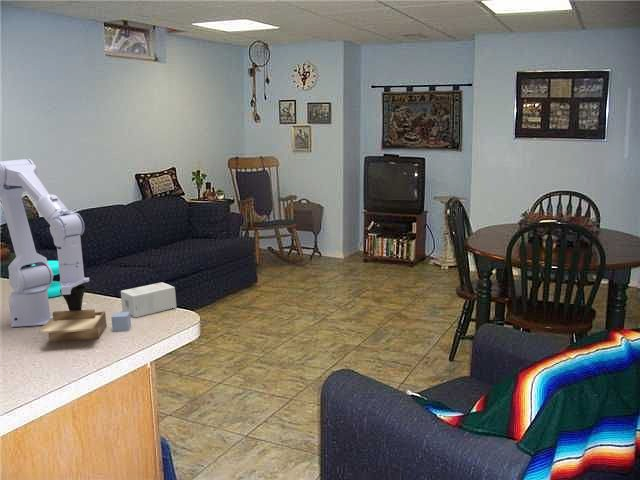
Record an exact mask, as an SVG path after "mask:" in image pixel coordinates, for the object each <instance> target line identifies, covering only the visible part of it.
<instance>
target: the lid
mask: <svg viewBox="0 0 640 480" xmlns="http://www.w3.org/2000/svg"><path fill="white" fill-rule="evenodd" d="M95 312H96V310H95V309H94V308H93V309H81V310H73V311H69V310H58V311H57V310H56V311H53V312H52V315H53V318H51V319H50V320H49V321H48V322H47V323H46V324H45V325H42V327H41V329H40V330H39V331H38V334H48V333H58V332H75V331H92V330H93V329H94V327H95V326H96V324H97V323H98V321H99V320H100V318H101V315H96V316H95Z"/></svg>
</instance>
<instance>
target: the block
mask: <svg viewBox="0 0 640 480" xmlns="http://www.w3.org/2000/svg"><path fill="white" fill-rule="evenodd" d="M131 326H132V321H131V315H130V312H123V311H118V312H115V311H114V312H113V314H111V328H112V329H111V330H112V332H113V331H115V332H128V331H130V329H131Z"/></svg>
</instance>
